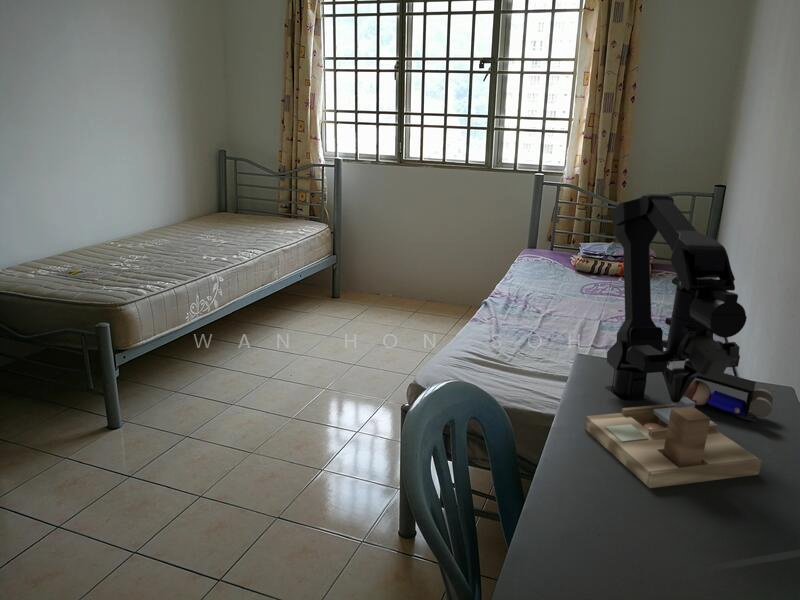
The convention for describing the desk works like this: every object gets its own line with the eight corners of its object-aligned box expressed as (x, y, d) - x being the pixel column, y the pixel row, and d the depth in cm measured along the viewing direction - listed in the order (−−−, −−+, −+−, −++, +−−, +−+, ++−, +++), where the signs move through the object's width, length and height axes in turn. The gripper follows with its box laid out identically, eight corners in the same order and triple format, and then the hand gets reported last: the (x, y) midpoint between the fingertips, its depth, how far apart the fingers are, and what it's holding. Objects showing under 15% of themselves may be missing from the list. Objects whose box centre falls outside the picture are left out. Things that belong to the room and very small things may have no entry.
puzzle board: (583, 431, 114) (586, 411, 113) (679, 422, 119) (683, 402, 118) (649, 491, 97) (653, 468, 96) (758, 477, 102) (763, 455, 101)
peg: (661, 464, 103) (671, 408, 100) (682, 462, 104) (692, 406, 101) (677, 478, 100) (688, 420, 97) (699, 475, 101) (710, 418, 98)
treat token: (638, 431, 114) (639, 424, 114) (655, 429, 115) (656, 422, 115) (650, 441, 111) (652, 433, 110) (668, 439, 112) (670, 432, 111)
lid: (652, 413, 116) (655, 394, 115) (688, 410, 118) (691, 391, 116) (676, 430, 110) (680, 410, 108) (713, 426, 111) (717, 407, 110)
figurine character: (765, 422, 124) (683, 393, 132) (778, 387, 122) (694, 360, 129) (762, 435, 119) (677, 405, 126) (776, 399, 116) (688, 370, 123)
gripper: (673, 335, 97) (657, 428, 102) (773, 330, 102) (754, 418, 107) (630, 313, 108) (617, 398, 112) (723, 309, 112) (707, 390, 117)
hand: (674, 401), depth 112 cm, fingers closed
